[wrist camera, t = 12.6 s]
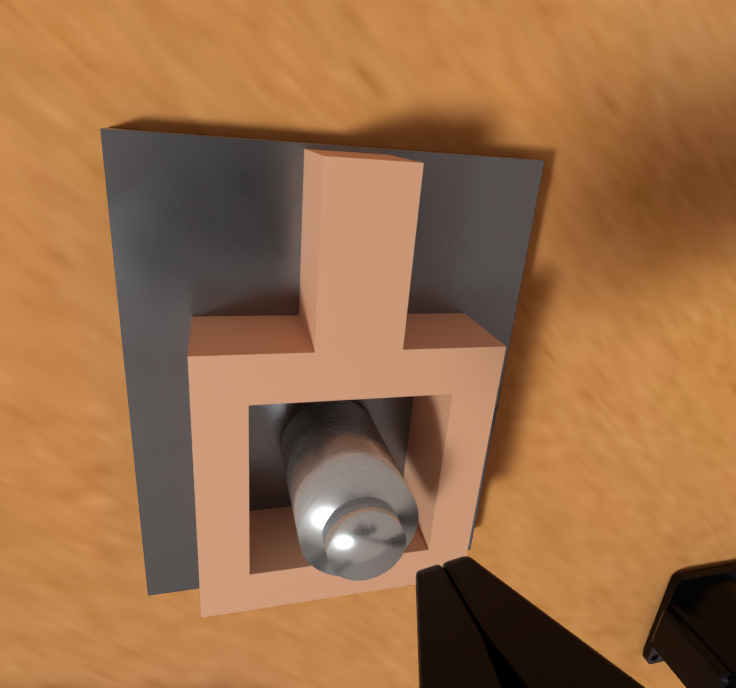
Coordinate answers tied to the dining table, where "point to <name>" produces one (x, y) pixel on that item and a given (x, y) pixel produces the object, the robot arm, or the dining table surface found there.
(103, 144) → the base with metal peg
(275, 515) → the square ring with tab
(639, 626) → the dining table surface
